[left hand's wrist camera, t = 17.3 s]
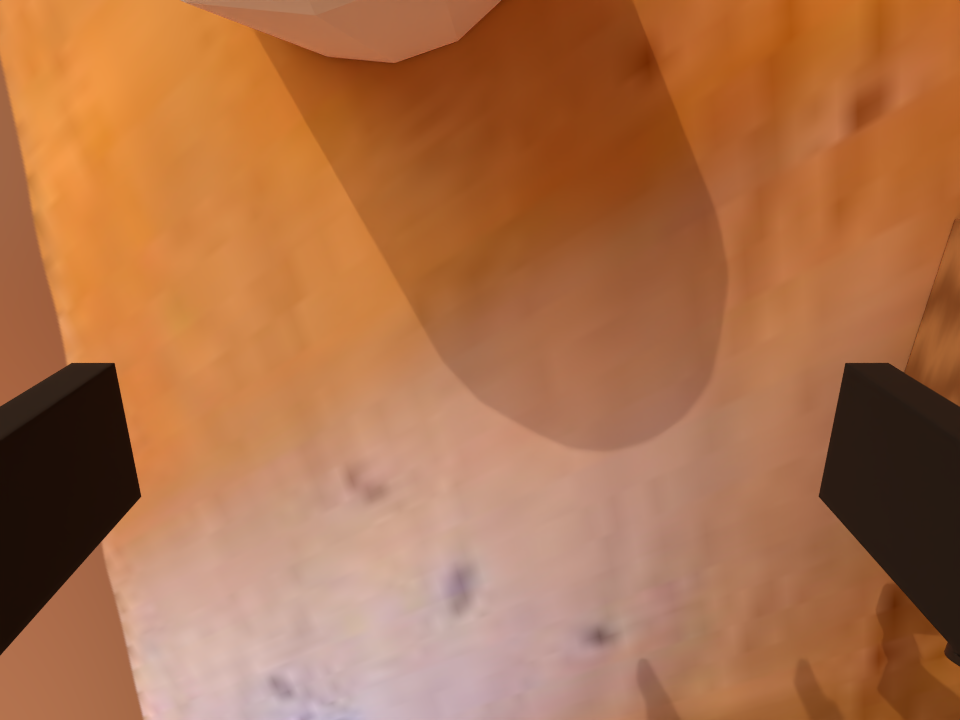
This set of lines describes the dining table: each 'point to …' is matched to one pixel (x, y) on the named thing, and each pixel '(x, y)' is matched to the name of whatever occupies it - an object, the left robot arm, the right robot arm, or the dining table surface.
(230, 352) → the dining table surface
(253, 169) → the dining table surface
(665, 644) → the dining table surface
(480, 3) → the container
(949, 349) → the box
